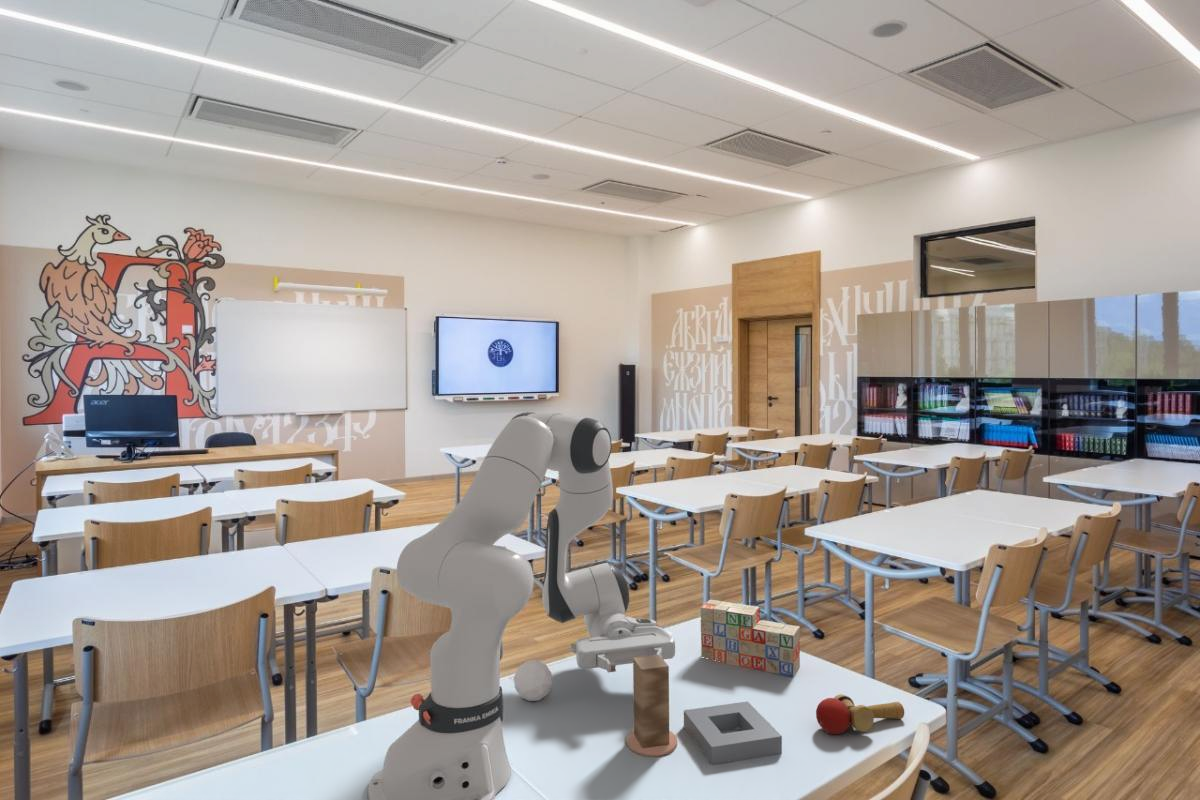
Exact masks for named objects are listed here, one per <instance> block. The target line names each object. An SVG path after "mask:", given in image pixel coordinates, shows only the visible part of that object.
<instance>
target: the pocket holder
mask: <svg viewBox="0 0 1200 800" xmlns="http://www.w3.org/2000/svg"><path fill="white" fill-rule="evenodd" d="M683 727H684V728H685V730H686V731H687V732H688V734H689V735H690V737H691V738H692V740H693V741H694V742H695V743H696V745H697V746H698V748H699V749H700V750H701V752H702V753H703V754H704V755H705V757H706V758H707V760H708V761H709V762H710V764H711V765H717V764H723V763H729V762H736V761H742V760H747V759H749V760H750V759H753V758H760V757H766V756H773V755H778V754H779V755H780V754H782V753H783V750H782V749H783V738H782V737H783V736H782V734H780V732H778V731H777V730H776V728H775V727H773V725H771V724H770V723H769V721H767V720H766V719H765V717H764V716H763V715H762V714H761V713H760V712H759V711H758V710H757V709H756V708H755V707H754V706H753V705H752V704H751V703H750V702H749V701H741V702H734V703H727V704H726V703H725V704H719V705H713V706H712V705H711V706H705V707H698V708H691V709H684V710H683ZM734 729H739V730H740V731H733V732H726V733H722V731H728V730H734Z"/></svg>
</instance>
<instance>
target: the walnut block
mask: <svg viewBox="0 0 1200 800" xmlns="http://www.w3.org/2000/svg"><path fill="white" fill-rule="evenodd" d="M632 665H633V666H632V669H633V671H632V672H633V674H632V675H633V677H632V678H633V679H632V680H633V682H632V683H633V684H632V685H633V688H632V689H633V692H632V693H633V730H634V735H635V737H636V739H637V740H638V742H639V744H640V746H641V747H642V749H643V748H650V747H656V746H663V745H669V731H670V672H669V671H670V667H669V666H670V665H668V664H667V662H666V661H665V659H662V657H661V656H660V655H654V656H645V657H637V658H633V663H632Z"/></svg>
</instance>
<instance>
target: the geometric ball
mask: <svg viewBox="0 0 1200 800" xmlns="http://www.w3.org/2000/svg"><path fill="white" fill-rule="evenodd" d="M513 682H514V689H515V690H516V692H517V694H518V696H519V697H520V698H522V699H524V700H527V701H528V702H536V701H540V700H541V699H543V698H544V697H546V696H547V695H548V694H549V692H550V690H551V688H552V685H553V674H552V672H551V670H550V668H549V667H548V666H547V664H546V663H544V662H542V661H540V660H539V659H532V660H531V659H530V660H526V661H525V662H524V663H522V664H521V665H519V666H518V667H517V670H516V672H515V673H514V676H513Z"/></svg>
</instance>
